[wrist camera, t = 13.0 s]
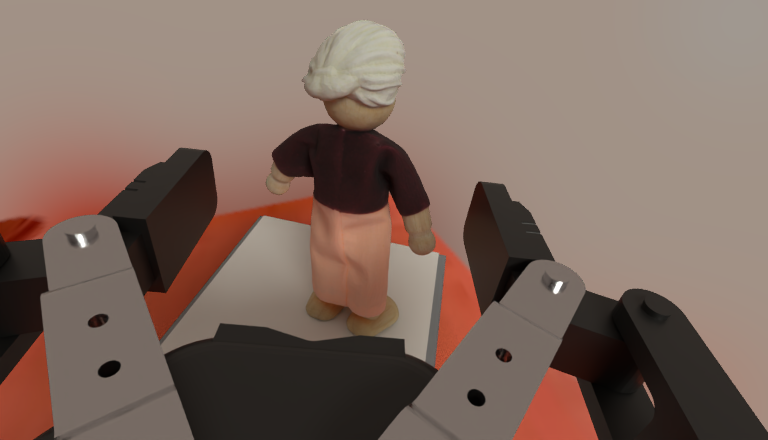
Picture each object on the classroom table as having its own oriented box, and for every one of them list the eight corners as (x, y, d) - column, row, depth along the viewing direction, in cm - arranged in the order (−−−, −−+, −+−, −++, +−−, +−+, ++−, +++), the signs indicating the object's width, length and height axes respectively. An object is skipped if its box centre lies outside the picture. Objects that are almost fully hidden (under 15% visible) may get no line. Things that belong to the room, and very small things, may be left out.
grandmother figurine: (424, 298, 21) (486, 31, 14) (409, 357, 18) (478, 50, 11) (286, 261, 22) (278, -2, 15) (249, 310, 19) (215, 7, 12)
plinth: (151, 437, 19) (123, 373, 16) (263, 268, 28) (259, 209, 25) (407, 506, 17) (427, 451, 15) (432, 306, 27) (447, 249, 24)
